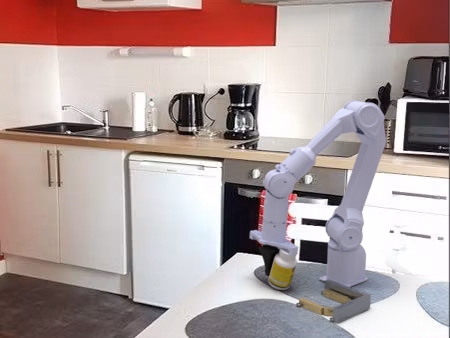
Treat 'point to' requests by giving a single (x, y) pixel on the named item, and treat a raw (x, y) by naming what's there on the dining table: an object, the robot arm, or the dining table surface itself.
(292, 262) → the supplement bottle
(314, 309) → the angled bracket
